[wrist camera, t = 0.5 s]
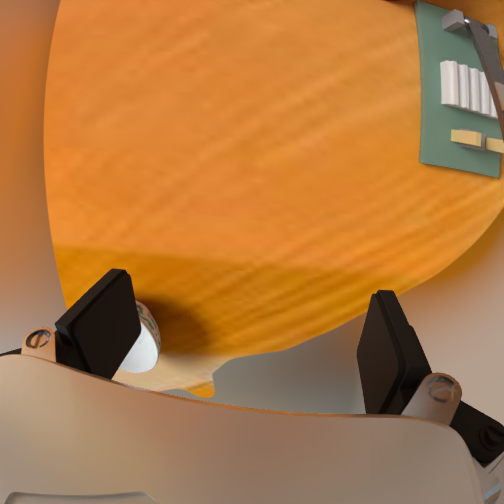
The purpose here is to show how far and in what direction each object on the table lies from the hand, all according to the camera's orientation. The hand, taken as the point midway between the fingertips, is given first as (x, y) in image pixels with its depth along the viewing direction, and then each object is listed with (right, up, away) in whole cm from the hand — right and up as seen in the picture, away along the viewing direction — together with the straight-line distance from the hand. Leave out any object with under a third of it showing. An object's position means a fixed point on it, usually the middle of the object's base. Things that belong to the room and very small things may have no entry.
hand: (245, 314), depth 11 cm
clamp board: (+29, +25, +18) cm, 43 cm away
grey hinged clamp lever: (+28, +23, +10) cm, 38 cm away
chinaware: (-21, -9, +40) cm, 46 cm away
